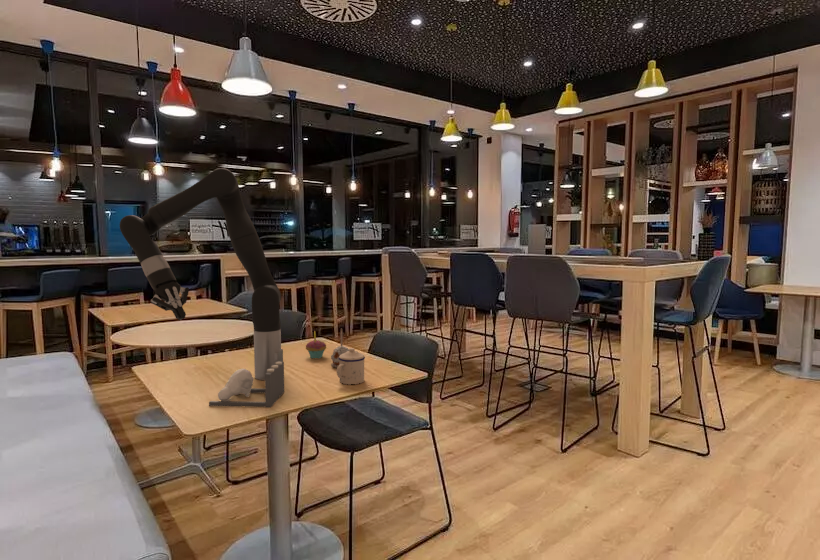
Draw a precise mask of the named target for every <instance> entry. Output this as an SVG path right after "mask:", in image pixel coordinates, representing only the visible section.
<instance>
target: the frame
mask: <svg viewBox="0 0 820 560" xmlns="http://www.w3.org/2000/svg"><path fill="white" fill-rule="evenodd" d="M271 368H272V369H267V373H266V374H265V380H264V388H261V387H260V388H255V387H254V388H253V387H252V388H251V392H250V394H264V395H265V396H264V399H265V400H264V401H251V400H250V401H244V400H243V401H242V400H241V401H239V400H238V401H237V400H230V401H221V400H210V401H209V402H208V404H209V405H208V406H209V407H242V406H245V408H246V407H248V408H249V407H253V408H255V407H256V408H257V407H258V408H262V407H263V408H267V409H269V408H272V407H273V405H274V404H276V402H277V401H278V400H279V399H280V397H281V396H283V394H284V393H285V362H284V361H283V362H275V365H272V366H271Z"/></svg>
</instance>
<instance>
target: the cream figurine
mask: <svg viewBox="0 0 820 560" xmlns="http://www.w3.org/2000/svg"><path fill="white" fill-rule="evenodd" d="M254 378H255V377H253V375H252V373H251V371H250V370H248V369H246V368H239V369H237V370H235V371H234V372H233V373H232V374H231V375H230V376H229V378H228V381H227V382H226V383H225V386H224V387H222V389H220V390H219V391H218V392H217V398H218V400H219V401H232V400H233V399H232V397H233V396H238V395H241V394H242V395H244V396H245V398H250V394H251V393H250V392H251V388H253V386H254V385H253V384H254V380H255V379H254Z"/></svg>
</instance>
